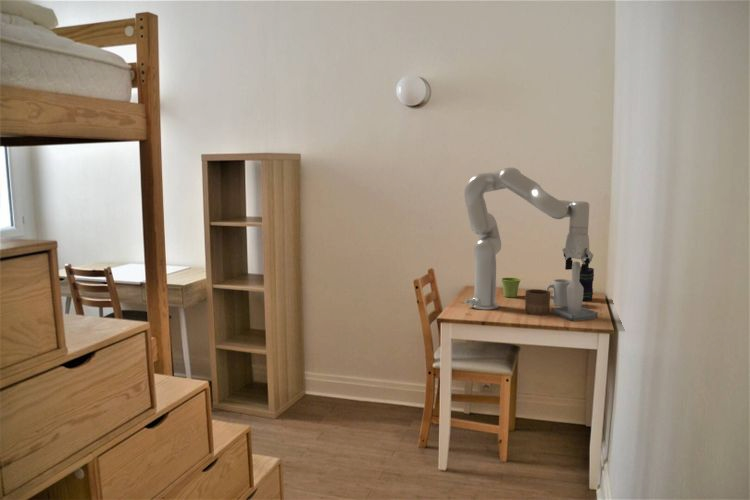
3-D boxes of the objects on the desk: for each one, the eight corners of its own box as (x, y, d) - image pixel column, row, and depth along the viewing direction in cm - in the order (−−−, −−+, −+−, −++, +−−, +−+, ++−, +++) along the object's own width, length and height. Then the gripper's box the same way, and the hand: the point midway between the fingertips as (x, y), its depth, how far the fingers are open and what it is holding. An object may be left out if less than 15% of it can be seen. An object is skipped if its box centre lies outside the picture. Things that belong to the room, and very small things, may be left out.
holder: (534, 315, 252) (535, 295, 250) (520, 310, 261) (521, 290, 259) (553, 313, 255) (554, 293, 254) (539, 308, 264) (540, 288, 263)
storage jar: (594, 302, 276) (596, 270, 274) (572, 301, 278) (574, 270, 276) (590, 297, 286) (592, 267, 284) (569, 296, 288) (570, 266, 286)
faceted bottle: (563, 312, 253) (565, 261, 250) (575, 310, 255) (577, 260, 252) (572, 315, 247) (575, 263, 244) (585, 314, 250) (587, 262, 246)
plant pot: (496, 295, 290) (497, 278, 289) (512, 293, 294) (512, 276, 293) (508, 299, 282) (509, 281, 281) (524, 297, 286) (524, 279, 285)
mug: (567, 302, 276) (569, 279, 275) (574, 306, 268) (575, 282, 266) (542, 302, 276) (543, 279, 274) (548, 306, 268) (549, 283, 266)
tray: (572, 321, 243) (572, 315, 243) (551, 313, 255) (552, 308, 255) (597, 318, 248) (597, 312, 247) (576, 310, 260) (576, 305, 259)
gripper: (557, 229, 253) (555, 268, 255) (586, 233, 237) (583, 275, 239) (571, 228, 255) (569, 267, 258) (600, 232, 240) (598, 274, 242)
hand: (576, 271), depth 249 cm, fingers open, 9 cm apart
